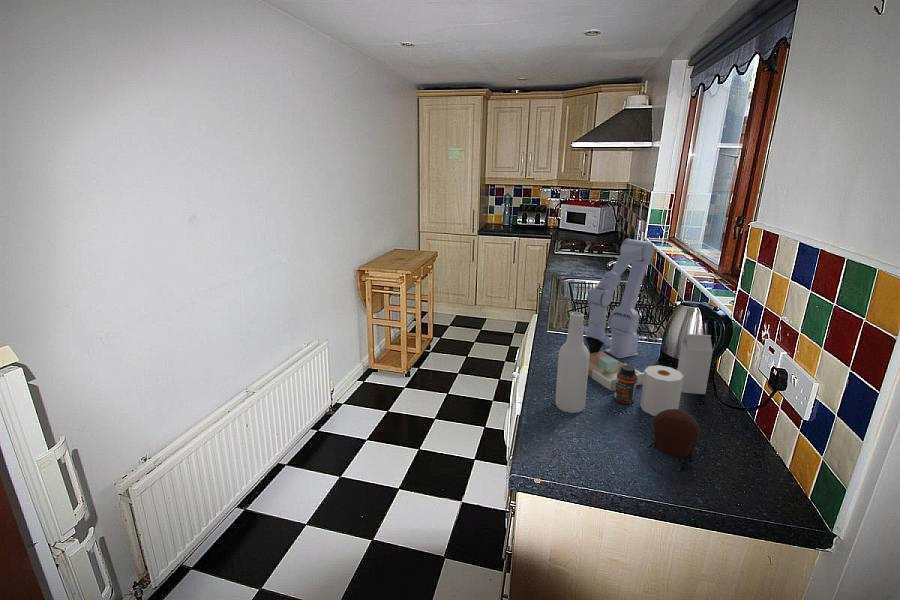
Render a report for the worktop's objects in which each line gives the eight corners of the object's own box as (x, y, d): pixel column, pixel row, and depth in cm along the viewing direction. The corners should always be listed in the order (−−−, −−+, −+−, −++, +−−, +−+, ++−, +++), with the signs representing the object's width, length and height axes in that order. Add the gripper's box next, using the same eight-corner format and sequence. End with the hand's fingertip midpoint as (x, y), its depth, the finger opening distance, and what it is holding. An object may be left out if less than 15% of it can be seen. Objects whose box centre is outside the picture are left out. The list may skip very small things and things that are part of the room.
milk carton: (705, 394, 143) (715, 339, 138) (681, 392, 145) (689, 338, 139) (698, 384, 150) (707, 331, 144) (675, 382, 151) (683, 330, 146)
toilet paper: (683, 409, 135) (689, 373, 132) (667, 422, 129) (673, 384, 125) (650, 396, 143) (655, 362, 139) (634, 408, 136) (638, 372, 132)
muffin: (656, 429, 125) (661, 397, 122) (701, 444, 119) (707, 411, 116) (643, 450, 117) (648, 416, 114) (690, 467, 110) (696, 432, 107)
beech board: (598, 356, 172) (599, 350, 172) (624, 371, 160) (625, 364, 159) (568, 361, 168) (568, 355, 167) (591, 378, 155) (592, 371, 154)
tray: (624, 371, 160) (625, 361, 159) (645, 383, 151) (646, 372, 150) (591, 378, 155) (592, 367, 154) (611, 391, 146) (612, 380, 145)
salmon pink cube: (600, 359, 164) (601, 351, 163) (609, 363, 160) (609, 356, 159) (590, 360, 162) (591, 353, 161) (598, 365, 158) (599, 358, 157)
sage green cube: (608, 363, 160) (609, 356, 159) (617, 369, 156) (618, 361, 155) (598, 366, 158) (599, 358, 157) (606, 371, 154) (607, 363, 153)
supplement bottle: (612, 402, 140) (616, 369, 136) (615, 393, 145) (619, 361, 141) (633, 406, 137) (637, 373, 134) (635, 397, 142) (639, 365, 139)
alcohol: (571, 396, 143) (578, 307, 134) (591, 409, 135) (599, 316, 127) (549, 403, 140) (554, 311, 131) (567, 416, 132) (575, 320, 123)
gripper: (575, 316, 165) (572, 350, 169) (601, 329, 152) (597, 366, 156) (591, 314, 167) (588, 347, 171) (618, 326, 154) (614, 363, 158)
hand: (593, 356), depth 164 cm, fingers closed
